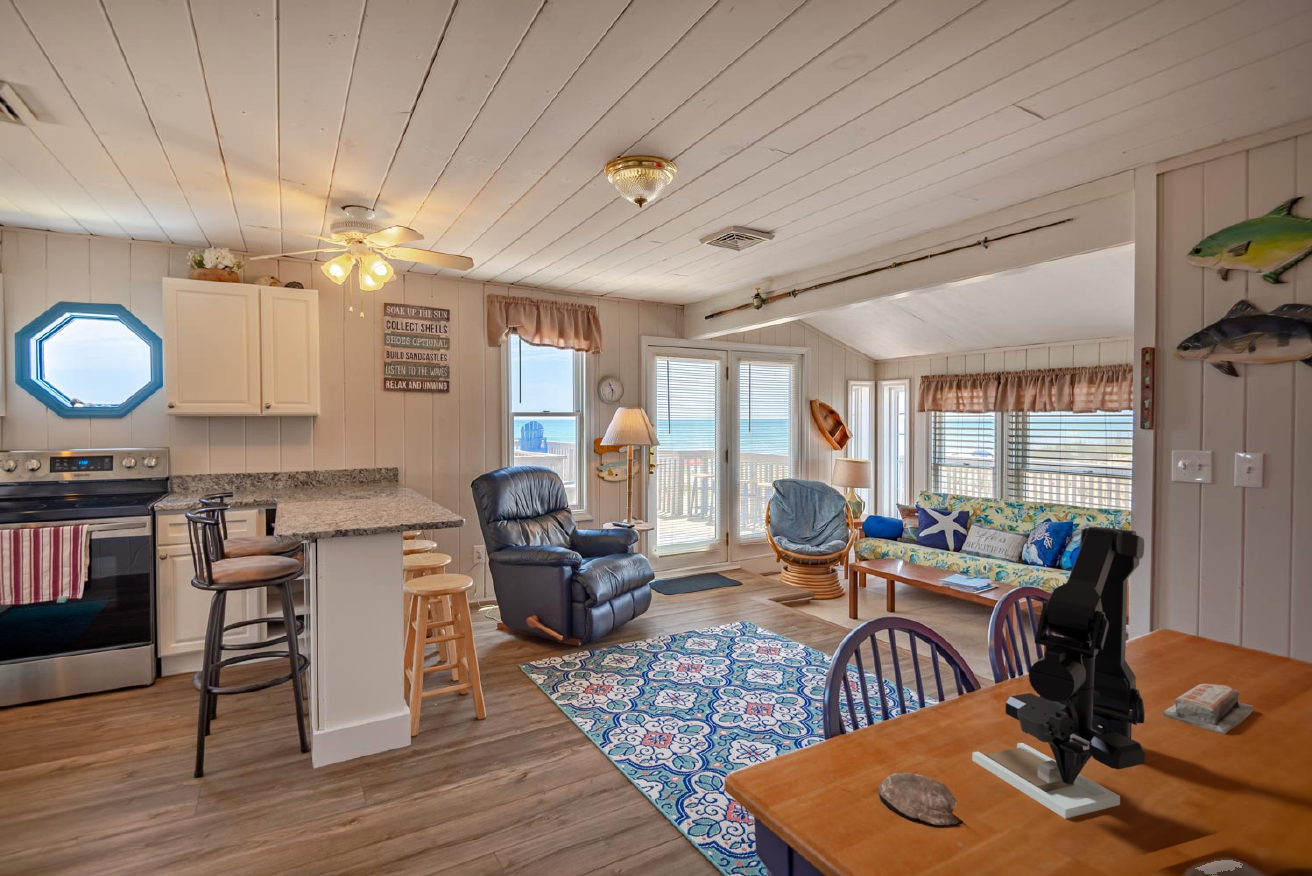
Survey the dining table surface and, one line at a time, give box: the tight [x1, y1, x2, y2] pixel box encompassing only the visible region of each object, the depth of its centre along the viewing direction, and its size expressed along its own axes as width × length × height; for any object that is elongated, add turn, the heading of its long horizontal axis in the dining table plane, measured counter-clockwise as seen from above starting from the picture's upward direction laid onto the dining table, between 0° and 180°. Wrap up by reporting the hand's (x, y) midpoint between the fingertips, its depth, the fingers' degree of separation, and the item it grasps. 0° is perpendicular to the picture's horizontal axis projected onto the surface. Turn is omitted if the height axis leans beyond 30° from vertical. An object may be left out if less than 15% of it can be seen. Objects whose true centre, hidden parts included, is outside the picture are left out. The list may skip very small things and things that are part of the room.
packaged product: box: [1162, 683, 1254, 735], centre depth 133 cm, size 18×5×10 cm
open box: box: [971, 742, 1121, 820], centre depth 104 cm, size 11×17×3 cm, turn 19°
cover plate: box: [984, 747, 1074, 792], centre depth 107 cm, size 8×10×3 cm
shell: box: [877, 771, 964, 828], centre depth 101 cm, size 12×13×4 cm
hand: (1067, 783), depth 100 cm, fingers closed
